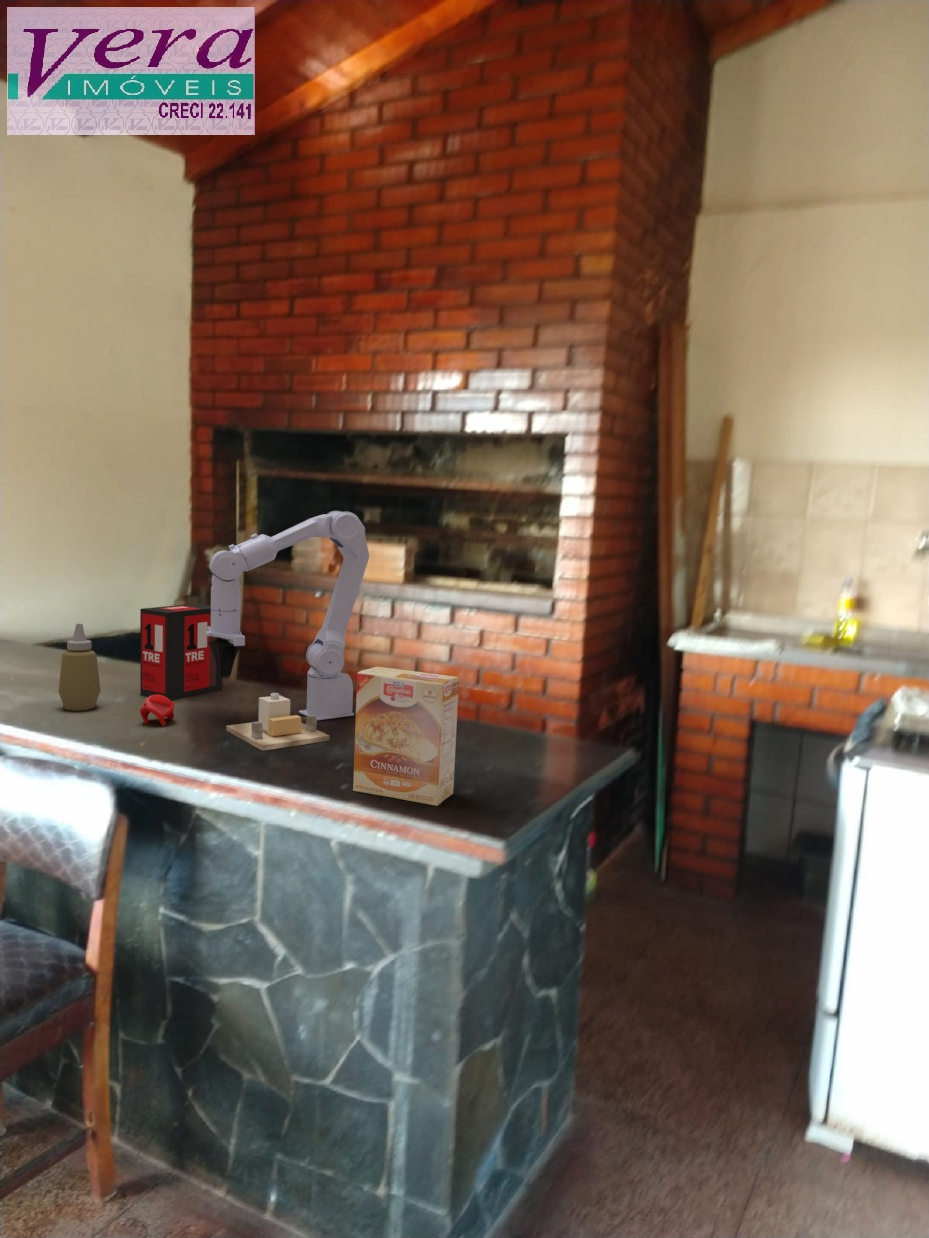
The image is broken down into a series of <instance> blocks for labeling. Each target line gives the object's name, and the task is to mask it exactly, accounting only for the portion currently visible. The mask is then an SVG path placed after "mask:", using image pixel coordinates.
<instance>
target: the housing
mask: <svg viewBox="0 0 929 1238" xmlns="http://www.w3.org/2000/svg"><path fill="white" fill-rule="evenodd" d="M285 716H291V699H289V698H287V697H284V696H283V695H280V693H278V692H272V693H270V696H261V697H258V721H260V722H262V723H263V730H264V731H266V732H268V719H270V718H278V717H285Z"/></svg>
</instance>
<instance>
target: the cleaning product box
mask: <svg viewBox="0 0 929 1238" xmlns="http://www.w3.org/2000/svg"><path fill="white" fill-rule="evenodd" d="M139 617H140V620H139V621H140V627H139V628H140V629H139V630H140V631H139V632H140V633H139V635H140V636H139V637H140V642H139V643H140V645H139V646H140V650H139V651H140V653H139V654H140V655H139V656H140V658H139V659H140V661H139V664H140V665H139V666H140V667H139V668H140V669H139V670H140V679H139V681H140V682H139V683H140V687H139V688H140V690H139V691H140V696H141V697H145V698H148V697H149V696H151V695H162V696H165V697H167V698H168V699H169V700H170V701H171V702H174V701H178V700H180V699H187V698H191V697H195V696H200V695H205V694H209V693H215V692H221V691H223V689H224V688H223V684H224V683H223V682H224V681H223V680H224V679H223V678H224V676H219V675H218V671H217V667H216V662H215V658H214V655H213V652H212V650H211V648H210V646H209V645H208V642H209V641H215V640H216V638H215V637H213V636H207V635H205V632H206V627H209V626H211V604H203V603H189V604H178V605H167V606H157V607H145V608H143V607H142V608H140V616H139Z"/></svg>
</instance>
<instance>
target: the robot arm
mask: <svg viewBox="0 0 929 1238" xmlns="http://www.w3.org/2000/svg"><path fill="white" fill-rule="evenodd" d="M311 538H328V539H329V540H330V541H331V542H333V544H335V545H336V547H337V549H338V550H339V553H340V554H341V556H342V557H343V560H342V564H341V567H340V570H339V573H338V576H337V580H336V582H335V585H334V587H333V588H334V589H333V592H332V593H331V594H332V596H331V597H330V602H329V605H328V607H327V610H326V614H325V616H324V620H323V623H322V626H321V628H320V629H319V630H318V632H317V633H316V636H315V639H314V640H313V642H312V643H311V644H310V645H309V646H308V648H307V650H306V654H305V657H306V662H307V663H308V665H309V666H310V668H309V670H307V684H306V685H307V686H306V687H307V688H306V709H301V710H298V713H299V714H301V715H304V716H305V717H306V715H312V714H313V715H316V716H317V721H322V720H323V721H324V720H330V719H336V718H337V719H338V718H339V719H340V718H344V717H352V716H353V717H354V716H355V712H353V704H354V703H353V702H354V701H353V699H354V684H353V681H352V680H353V679H352V678H351V676H350V675H349V674H348V673H346V672H345V673H344V672H342V670H343V668H344V666H345V658H344V657H345V656H344V652H345V648H346V638H345V635H346V631H347V630H348V626H349V623H350V620H351V617H352V613H353V610H354V607H355V603H356V600H357V597H358V594H359V592H360V591H359V590H360V588H361V585H362V582H363V578H364V576H365V575H364V574H365V573H366V569H367V567H368V563H369V559H370V552H369V547H368V543H367V538H366V527H365V526H364V524H363V523H362V521H361V520H360V519H359V516H357V514H355V513H353V512H350V511H341V510H333V511H329V512H328V513H327V514H324V513H323V514H320V515H317V516H314V517H311V518H307V519H306V520H304V521H302V522H300V523H297V524H296V525H294V526H292V527H289V528H287V529H285V530H283V531H281V532H279V533H277V534H275V535H272V536H269V535H267V534H264V533H263V534H262V533H261V534H257V533H254V534H252V535H250V539H248V540H246V541H243V542H241V543H238V544H237V545H234V544H233V543H232V544H231V545H228V548H229V550H219V551H217V552H215V553H214V554H213V556H212V557H211V559H210V562H209V564H208V567H209V571H210V572H211V573H212V575H211V587H210V605H211V626H209V627H206V632H205V635H207V636H213V637H215V638H216V640H215V641H209V642H208V645H209V646H210V648H211V650H212V652H213V655H214V658H215V662H216V667H217V671H218V675H219V676H223V677H228V676H231V675H232V671H233V667H234V664H235V660H236V657H237V656H238V654H239V651H240V650H241V648H242V647H243V646H244V647H245V645H246V636H245V635H243V634H242V632H241V630H240V627H241V625H240V623H241V620H240V619H241V616H240V615H241V587H240V576H241V575H242V574H243V572H246V573H247V572H248V571H251V570H253V569H257V568H258V567H260V566H263V565H265V564H267V563H270V562H272V561H274V560H275V559H276V557H277V554H278V553H279V551H281V550H283V549H286V548H288V547H291V546H293V545H296V544H298V543H299V544H300V543H301V542H303V541H306V540H309V539H311Z"/></svg>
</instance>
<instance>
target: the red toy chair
mask: <svg viewBox="0 0 929 1238" xmlns="http://www.w3.org/2000/svg"><path fill="white" fill-rule="evenodd" d="M174 710H175V702H174V701H170V700H169V699H168V698H167V697H165V696H162V695H151V696H149V697H146V699H145V700H144V703H143V705H142V707H141V708H140V710H139V714H140V717H141V718H142V720H143V722H144V723H145V724H148V723H149V722H150V721H149V715H150V714H151V713H152V714H153V715H154V716H155V717H157V719H158V721H159V722H160V724H161V726H163V727H165V726H166V725H167V723H166V721H165V718H167V719H168V720H173V719H174V717H175V714H174Z"/></svg>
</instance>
